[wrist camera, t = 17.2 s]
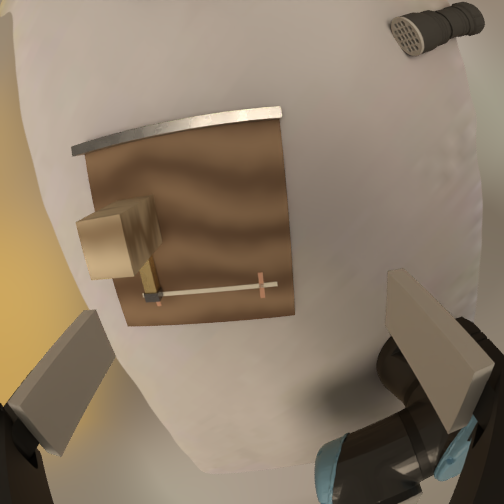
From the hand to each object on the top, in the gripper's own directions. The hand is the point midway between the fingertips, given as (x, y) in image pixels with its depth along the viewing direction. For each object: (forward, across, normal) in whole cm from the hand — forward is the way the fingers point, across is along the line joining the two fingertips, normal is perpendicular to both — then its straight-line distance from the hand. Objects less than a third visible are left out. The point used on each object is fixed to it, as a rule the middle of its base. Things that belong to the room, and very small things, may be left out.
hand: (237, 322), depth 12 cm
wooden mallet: (+24, +14, +3) cm, 28 cm away
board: (+24, +8, +2) cm, 26 cm away
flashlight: (+25, -29, -22) cm, 44 cm away
